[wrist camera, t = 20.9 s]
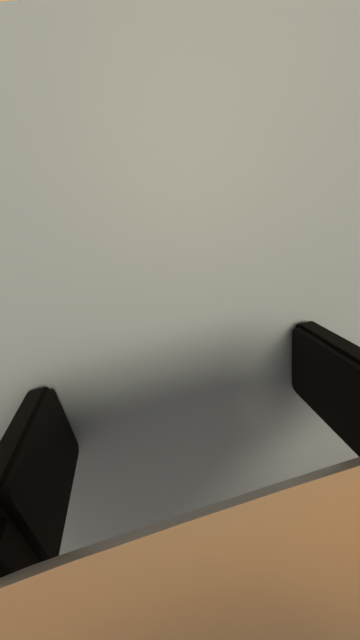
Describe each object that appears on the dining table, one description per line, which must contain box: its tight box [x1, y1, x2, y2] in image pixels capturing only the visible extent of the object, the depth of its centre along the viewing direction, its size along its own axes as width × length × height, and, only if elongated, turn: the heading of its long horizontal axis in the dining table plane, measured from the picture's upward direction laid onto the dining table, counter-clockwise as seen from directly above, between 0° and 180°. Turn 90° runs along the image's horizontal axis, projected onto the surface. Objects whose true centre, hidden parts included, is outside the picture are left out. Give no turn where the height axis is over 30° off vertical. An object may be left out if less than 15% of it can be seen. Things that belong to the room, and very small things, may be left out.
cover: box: [0, 0, 360, 555], centre depth 10 cm, size 20×26×1 cm
